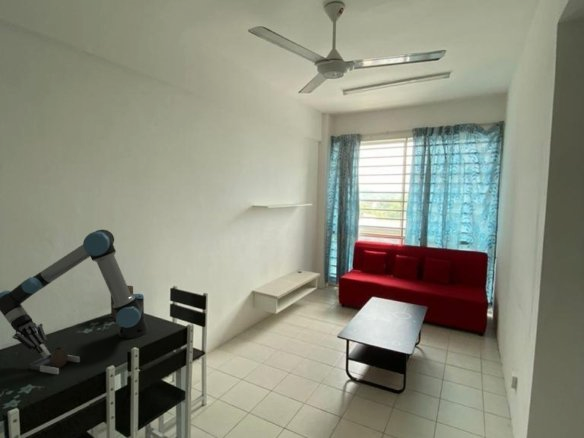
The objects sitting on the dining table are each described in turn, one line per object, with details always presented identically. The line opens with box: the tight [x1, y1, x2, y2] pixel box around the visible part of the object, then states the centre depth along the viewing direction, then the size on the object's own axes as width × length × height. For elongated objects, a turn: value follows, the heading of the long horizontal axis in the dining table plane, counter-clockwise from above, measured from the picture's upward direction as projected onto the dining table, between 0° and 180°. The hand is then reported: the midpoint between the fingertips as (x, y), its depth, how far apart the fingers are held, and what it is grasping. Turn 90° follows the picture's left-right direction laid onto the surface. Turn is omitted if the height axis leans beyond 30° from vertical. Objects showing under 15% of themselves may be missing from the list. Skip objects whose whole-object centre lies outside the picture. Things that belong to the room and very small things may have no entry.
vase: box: [50, 346, 69, 369], centre depth 151 cm, size 7×7×9 cm
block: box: [110, 285, 134, 319], centre depth 213 cm, size 10×10×20 cm
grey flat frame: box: [27, 353, 52, 372], centre depth 153 cm, size 7×11×2 cm, turn 167°
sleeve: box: [39, 354, 81, 375], centre depth 151 cm, size 10×12×2 cm
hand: (47, 356), depth 152 cm, fingers closed
